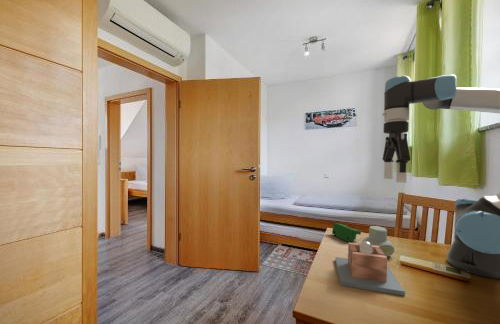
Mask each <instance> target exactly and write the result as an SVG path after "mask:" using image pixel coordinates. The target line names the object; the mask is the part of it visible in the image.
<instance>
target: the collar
mask: <svg viewBox="0 0 500 324" xmlns="http://www.w3.org/2000/svg"><path fill="white" fill-rule="evenodd" d="M347 247H348V248H347V259H348V265H349V268H350V271H351V273H352V277H356V278H363V279H369V280H376V281H382V282H387V266H388V256H387V257H386V256H385V254H384V253H383V251H382V250H381V249H380V247H379V246H375V245H372V254H368V253H360V243H358V242H357V243H356V242H348V245H347Z"/></svg>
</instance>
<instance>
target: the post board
mask: <svg viewBox="0 0 500 324" xmlns="http://www.w3.org/2000/svg"><path fill="white" fill-rule="evenodd" d="M335 265H336V270H337V275H338V279H339V285H340V286H343V287H348V288H355V289H362V290H367V291H373V292H374V291H375V292H379V293H386V294H391V295H398V296H404V297H405V296H406V290H405V289H404V287H403V286H402V285H401V283H400V282H399V281H398V279H397V277H396V276H395V275H394V273H393V271H392V270H391V269H390V267H389V265H387V282H382V281H376V280H369V279H363V278H356V277H352V273H351V271H350V268H349V265H348V258H345V257H335Z"/></svg>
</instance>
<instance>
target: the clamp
mask: <svg viewBox="0 0 500 324" xmlns="http://www.w3.org/2000/svg"><path fill="white" fill-rule="evenodd" d="M331 233H332V235H333V234H334V235H333V236H335V235H336V236H335V237H337V236H338V237H337V238H339V239H341V240H343V241H345V242H348V243H354V241H355V240H356V239H357V238H356V237H357V235H362V230H358V229H355V228H351V227H350V226H348V225H347V224H343V223H338V222H333V227H332V232H331ZM354 239H355V240H354Z"/></svg>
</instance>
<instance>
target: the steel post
mask: <svg viewBox="0 0 500 324" xmlns="http://www.w3.org/2000/svg"><path fill="white" fill-rule="evenodd" d="M359 244H360V253H368V254H372V245H371V244H370V243H369V242H368V241H363V242H362V241H361V242H360V243H359Z"/></svg>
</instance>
